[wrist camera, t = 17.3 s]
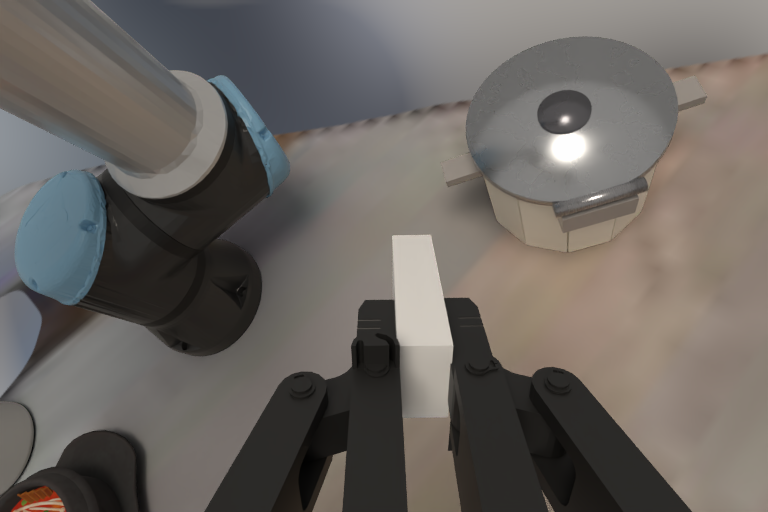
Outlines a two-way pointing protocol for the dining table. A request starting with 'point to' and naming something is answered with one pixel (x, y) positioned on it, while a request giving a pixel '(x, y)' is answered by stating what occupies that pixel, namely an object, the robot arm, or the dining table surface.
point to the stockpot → (572, 229)
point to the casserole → (81, 479)
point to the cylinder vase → (14, 442)
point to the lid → (572, 123)
